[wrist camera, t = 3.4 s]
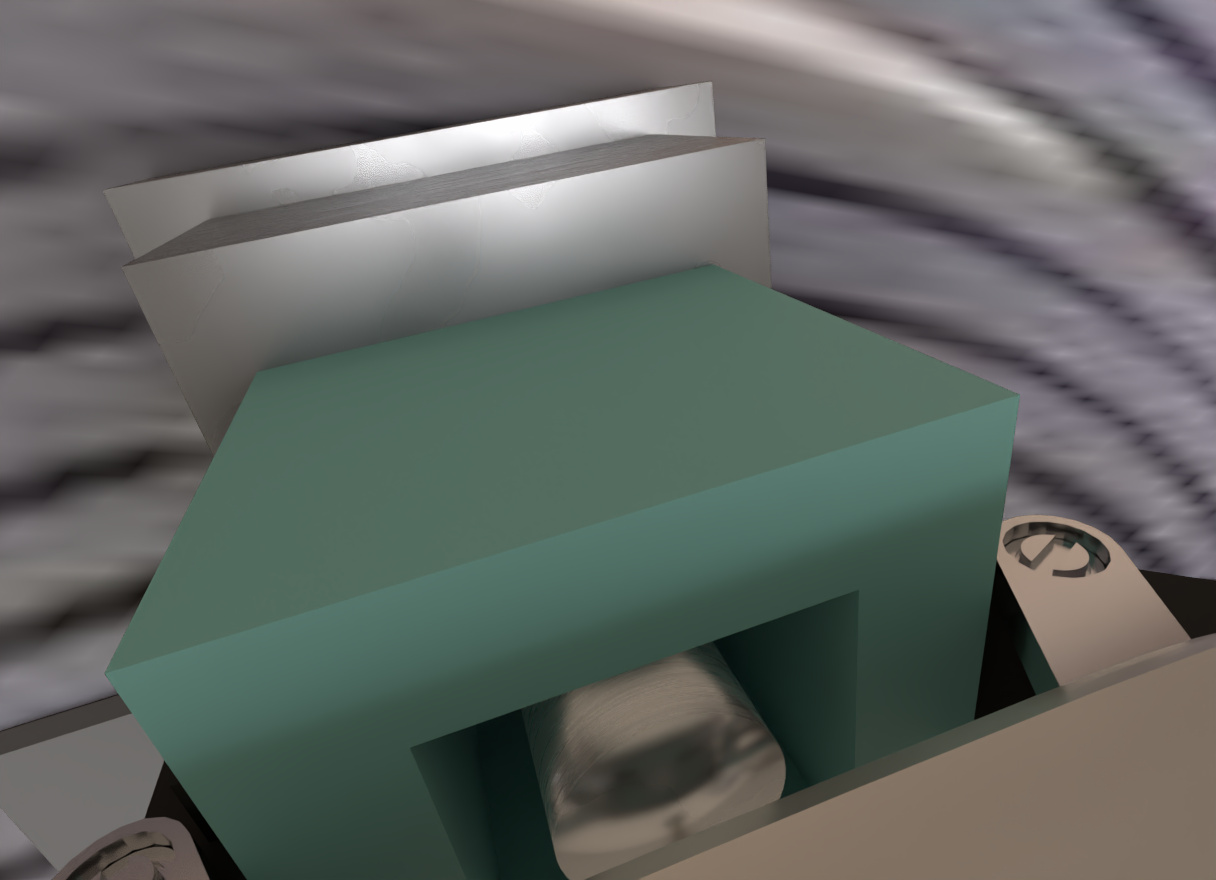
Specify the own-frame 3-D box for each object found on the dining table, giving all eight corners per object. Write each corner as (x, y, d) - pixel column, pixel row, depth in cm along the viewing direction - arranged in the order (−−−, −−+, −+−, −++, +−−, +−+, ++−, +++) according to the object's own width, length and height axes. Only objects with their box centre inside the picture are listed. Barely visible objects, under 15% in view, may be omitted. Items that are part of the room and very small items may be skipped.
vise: (714, 595, 25) (1033, 1048, 13) (384, 706, 22) (386, 1392, 10) (661, 87, 17) (1346, -2, 5) (151, 178, 15) (-905, 429, 3)
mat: (435, 823, 25) (437, 847, 25) (149, 930, 23) (140, 961, 23) (347, 623, 21) (346, 645, 20) (-18, 737, 19) (-37, 766, 18)
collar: (740, 599, 14) (951, 879, 9) (402, 714, 13) (416, 1124, 8) (713, 264, 11) (1019, 395, 6) (256, 371, 9) (104, 673, 4)
